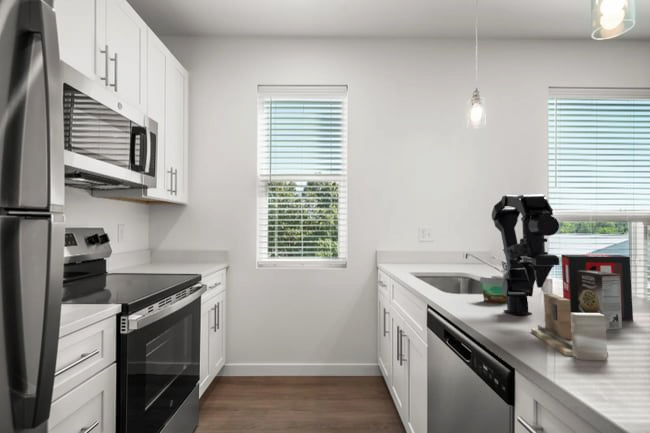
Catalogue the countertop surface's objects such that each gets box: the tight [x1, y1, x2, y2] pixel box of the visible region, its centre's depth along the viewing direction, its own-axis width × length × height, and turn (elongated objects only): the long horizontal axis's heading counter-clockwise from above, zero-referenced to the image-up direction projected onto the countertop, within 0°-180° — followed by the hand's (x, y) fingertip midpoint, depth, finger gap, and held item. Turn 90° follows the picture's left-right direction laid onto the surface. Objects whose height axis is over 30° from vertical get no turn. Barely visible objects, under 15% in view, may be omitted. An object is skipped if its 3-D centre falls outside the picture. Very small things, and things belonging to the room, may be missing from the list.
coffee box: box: [577, 270, 623, 331], centre depth 109 cm, size 9×6×16 cm
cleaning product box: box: [561, 254, 634, 322], centre depth 121 cm, size 16×9×20 cm, turn 70°
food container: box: [479, 276, 509, 305], centre depth 144 cm, size 12×6×10 cm, turn 80°
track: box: [530, 313, 609, 361], centre depth 92 cm, size 22×9×10 cm, turn 171°
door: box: [543, 293, 572, 339], centre depth 97 cm, size 9×3×10 cm, turn 171°
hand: (535, 286), depth 110 cm, fingers open, 5 cm apart
